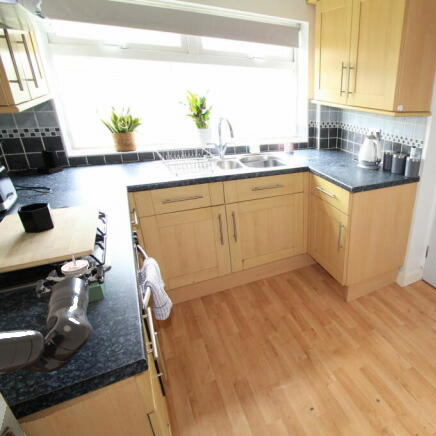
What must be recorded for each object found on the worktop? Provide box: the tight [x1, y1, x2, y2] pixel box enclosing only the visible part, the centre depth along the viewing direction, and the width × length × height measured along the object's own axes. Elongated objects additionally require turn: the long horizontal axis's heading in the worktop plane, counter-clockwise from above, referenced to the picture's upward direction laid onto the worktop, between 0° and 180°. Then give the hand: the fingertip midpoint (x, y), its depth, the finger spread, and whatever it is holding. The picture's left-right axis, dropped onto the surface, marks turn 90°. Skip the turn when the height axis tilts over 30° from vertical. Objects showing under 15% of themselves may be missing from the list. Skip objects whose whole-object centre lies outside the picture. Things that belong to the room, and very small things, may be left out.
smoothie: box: [60, 251, 91, 287], centre depth 93 cm, size 6×6×14 cm
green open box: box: [61, 276, 106, 303], centre depth 95 cm, size 10×10×5 cm
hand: (73, 268), depth 90 cm, fingers open, 8 cm apart
